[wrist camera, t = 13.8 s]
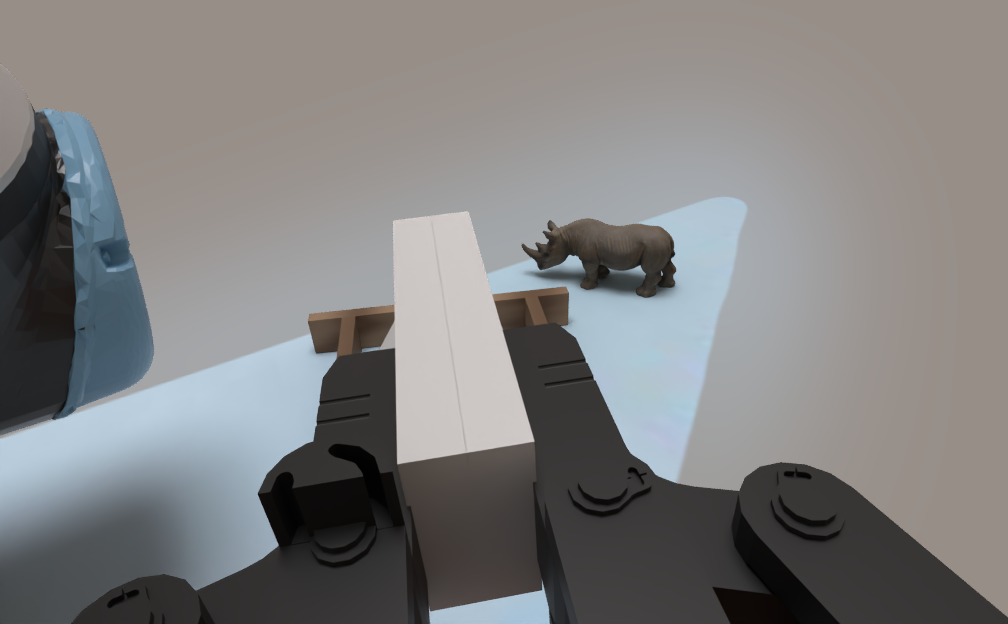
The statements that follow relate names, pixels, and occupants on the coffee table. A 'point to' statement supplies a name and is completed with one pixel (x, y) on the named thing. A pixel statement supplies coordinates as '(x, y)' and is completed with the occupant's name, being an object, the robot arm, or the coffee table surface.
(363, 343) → the frame
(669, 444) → the coffee table surface
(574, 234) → the rhino figurine
